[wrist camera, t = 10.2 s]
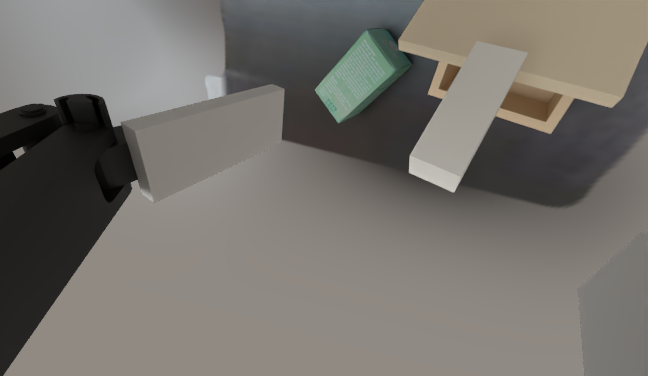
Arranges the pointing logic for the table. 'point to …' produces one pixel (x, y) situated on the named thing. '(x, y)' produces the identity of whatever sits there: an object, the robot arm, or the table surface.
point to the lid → (517, 64)
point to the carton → (514, 101)
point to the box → (362, 74)
